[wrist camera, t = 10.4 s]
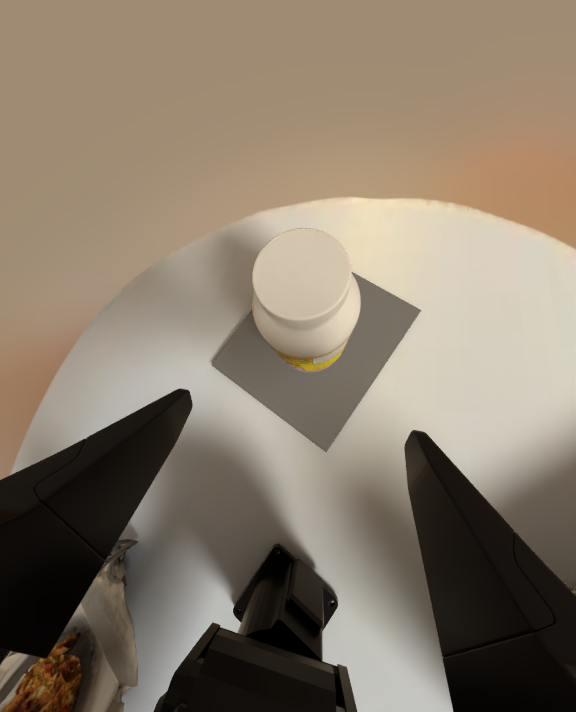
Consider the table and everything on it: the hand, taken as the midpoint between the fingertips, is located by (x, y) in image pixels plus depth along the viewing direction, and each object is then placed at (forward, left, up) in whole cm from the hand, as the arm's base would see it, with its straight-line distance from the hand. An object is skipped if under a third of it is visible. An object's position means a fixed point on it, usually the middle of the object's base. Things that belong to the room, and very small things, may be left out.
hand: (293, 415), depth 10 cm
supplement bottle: (+5, +4, -13) cm, 15 cm away
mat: (+6, +4, -14) cm, 15 cm away
